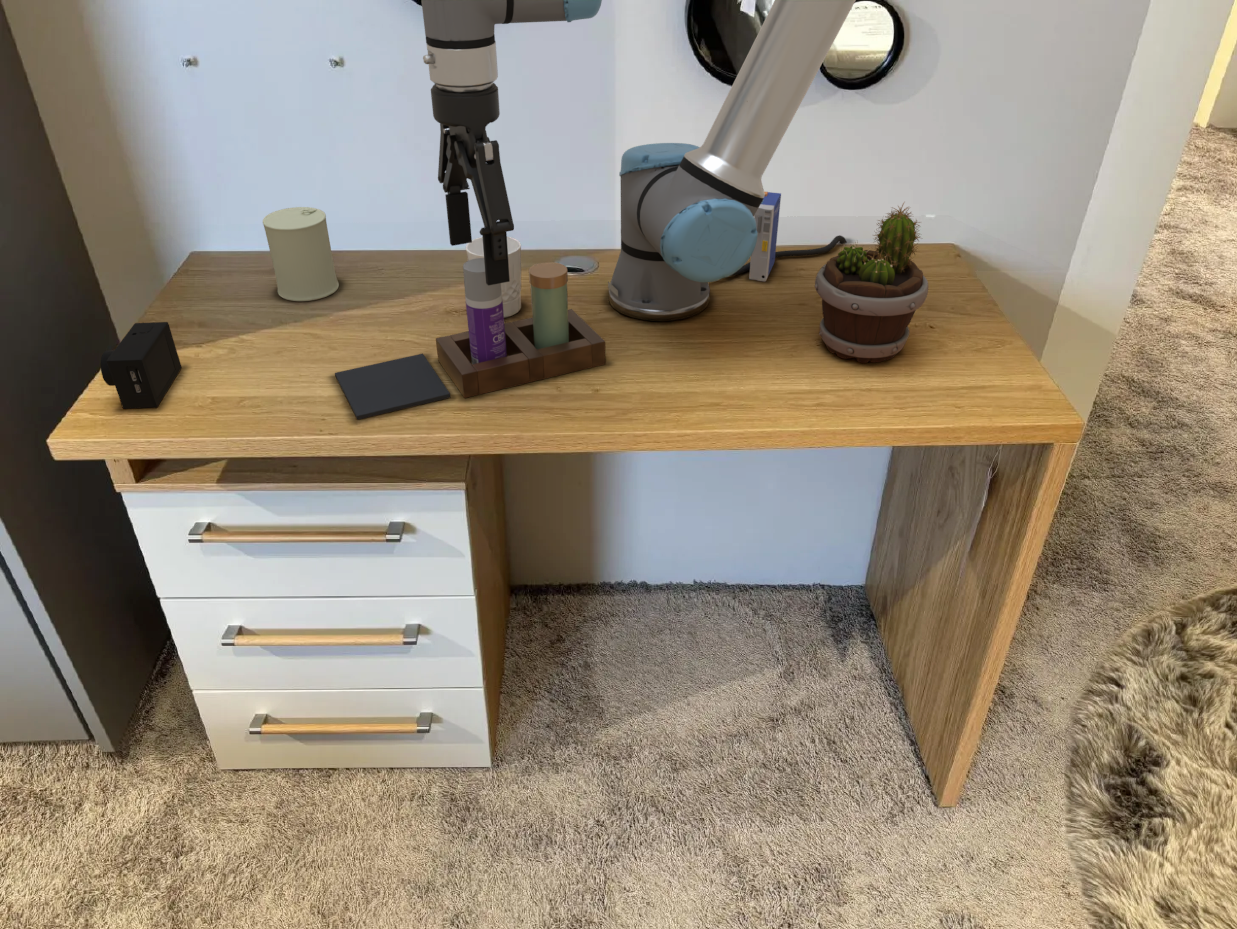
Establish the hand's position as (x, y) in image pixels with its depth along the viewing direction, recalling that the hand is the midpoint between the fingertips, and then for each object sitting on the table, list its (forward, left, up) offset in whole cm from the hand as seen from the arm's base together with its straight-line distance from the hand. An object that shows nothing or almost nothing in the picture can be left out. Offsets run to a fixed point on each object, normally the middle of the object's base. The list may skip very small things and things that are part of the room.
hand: (478, 262), depth 119 cm
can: (+16, -37, -16) cm, 43 cm away
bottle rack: (-5, 0, -15) cm, 16 cm away
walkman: (-51, -11, -16) cm, 54 cm away
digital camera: (+41, -15, -16) cm, 47 cm away
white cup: (-8, -17, -16) cm, 24 cm away
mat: (+13, -1, -15) cm, 20 cm away
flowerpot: (-49, +17, -16) cm, 54 cm away
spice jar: (-9, 0, -15) cm, 18 cm away
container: (0, 0, -16) cm, 16 cm away
